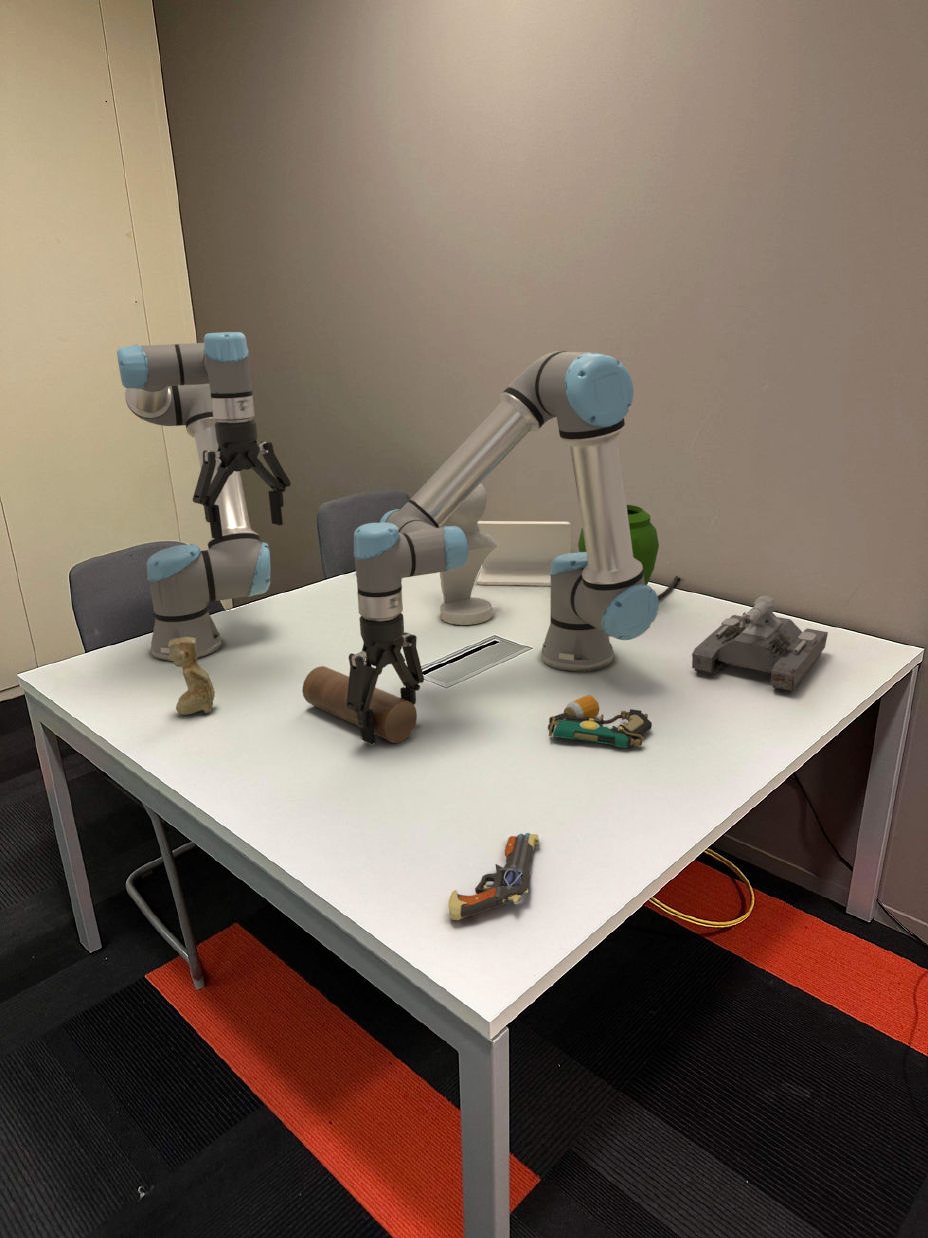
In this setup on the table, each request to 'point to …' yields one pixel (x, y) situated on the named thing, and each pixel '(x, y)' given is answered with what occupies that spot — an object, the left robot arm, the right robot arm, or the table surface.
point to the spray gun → (598, 724)
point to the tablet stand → (523, 551)
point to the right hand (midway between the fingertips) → (389, 731)
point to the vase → (638, 539)
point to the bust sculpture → (467, 565)
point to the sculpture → (191, 677)
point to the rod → (388, 710)
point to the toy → (761, 646)
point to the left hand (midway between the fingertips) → (248, 531)
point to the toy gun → (499, 880)
